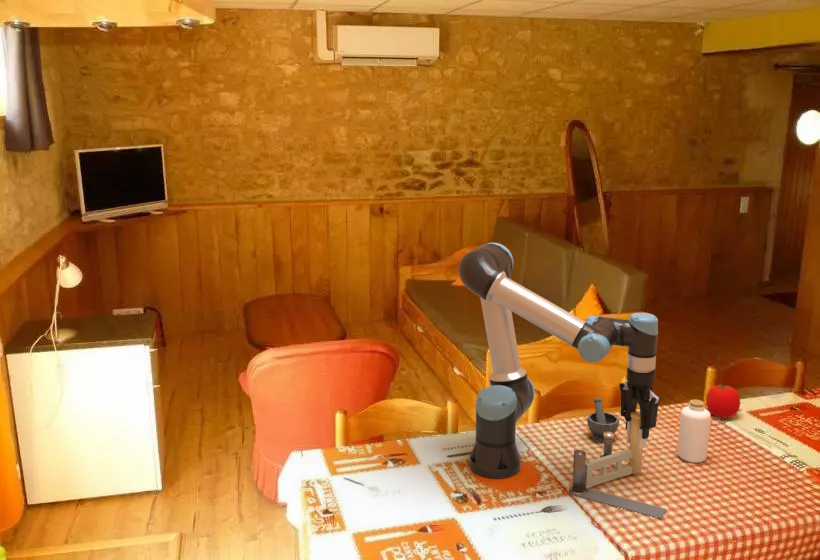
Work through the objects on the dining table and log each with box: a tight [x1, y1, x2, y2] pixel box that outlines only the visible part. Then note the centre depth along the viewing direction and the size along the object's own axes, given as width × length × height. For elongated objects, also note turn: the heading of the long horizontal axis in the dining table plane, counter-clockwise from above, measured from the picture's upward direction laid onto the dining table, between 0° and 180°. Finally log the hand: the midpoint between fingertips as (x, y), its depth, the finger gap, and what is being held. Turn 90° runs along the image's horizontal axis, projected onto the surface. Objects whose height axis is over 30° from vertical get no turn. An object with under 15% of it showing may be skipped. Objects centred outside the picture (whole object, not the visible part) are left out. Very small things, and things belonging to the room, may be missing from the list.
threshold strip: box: [571, 488, 667, 520], centre depth 192 cm, size 24×5×1 cm, turn 59°
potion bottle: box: [677, 399, 712, 464], centre depth 214 cm, size 8×8×18 cm
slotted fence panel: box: [584, 410, 644, 489], centre depth 201 cm, size 21×4×18 cm, turn 118°
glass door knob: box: [599, 432, 615, 458], centre depth 214 cm, size 4×4×9 cm
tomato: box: [705, 383, 741, 419], centre depth 243 cm, size 10×11×11 cm
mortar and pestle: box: [586, 397, 620, 443], centre depth 228 cm, size 11×9×12 cm
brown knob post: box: [568, 449, 588, 498], centre depth 196 cm, size 5×5×12 cm
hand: (636, 444), depth 205 cm, fingers closed on slotted fence panel, 4 cm apart
